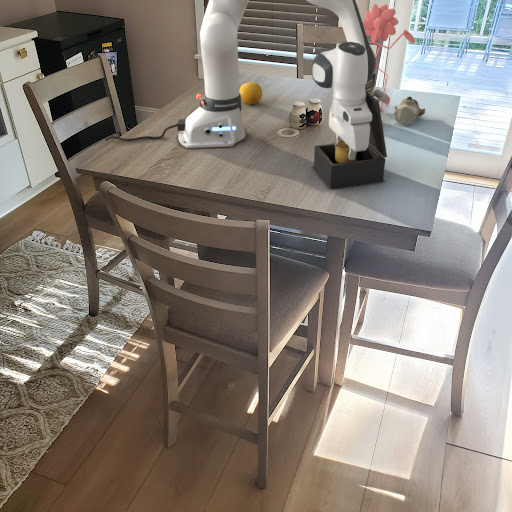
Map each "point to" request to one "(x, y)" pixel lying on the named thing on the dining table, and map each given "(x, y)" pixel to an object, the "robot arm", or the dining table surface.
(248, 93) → the fruit
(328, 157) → the black lidded box
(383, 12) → the figurine
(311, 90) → the dining table surface
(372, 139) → the lid
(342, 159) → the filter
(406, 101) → the ceramic sculpture
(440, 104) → the dining table surface
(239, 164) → the dining table surface
